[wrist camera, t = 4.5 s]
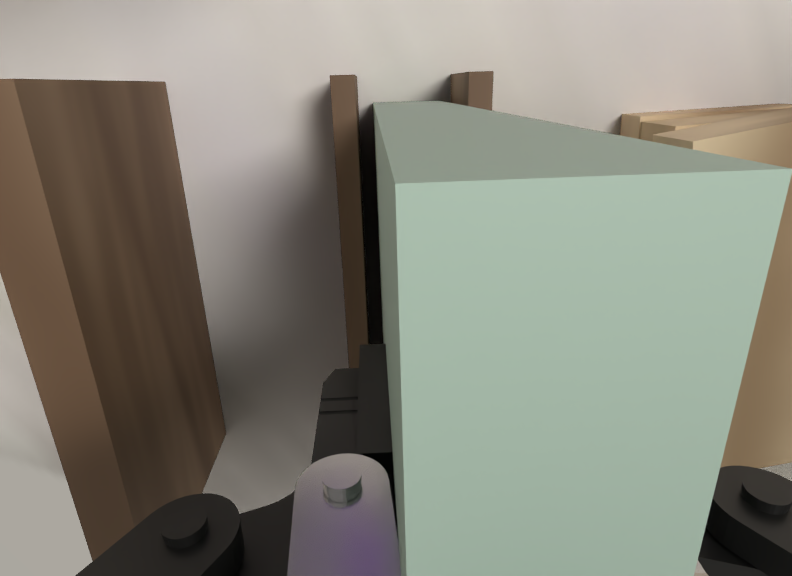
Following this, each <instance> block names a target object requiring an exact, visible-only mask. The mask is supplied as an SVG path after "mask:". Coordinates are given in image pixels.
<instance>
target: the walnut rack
mask: <svg viewBox="0 0 792 576" xmlns="http://www.w3.org/2000/svg"><path fill="white" fill-rule="evenodd" d="M330 87H331V102H332V117H333V133H334V148H335V163H336V178H337V193H338V208H339V223H340V239H341V254H342V269H343V284H344V299H345V314H346V330H347V345H348V360H349V368H359V352H360V345H367V344H370V337H369V317H368V296H367V275H366V255H365V234H364V213H363V193H362V172H361V151H360V131H359V110H358V89H357V76H355V75H330ZM492 93H493V71H484V72H465V73H457V74H451V100H450V103H454V104H460V105H465V106H470V107H475V108H480V109H486V110H491V111H492ZM0 273H1V276H2V279H3V282H4V285H5V289H6V292H7V295H8V298H9V301H10V304H11V307H12V310H13V314H14V317H15V320H16V323H17V326H18V329H19V332H20V335H21V339H22V342H23V345H24V348H25V351H26V354H27V357H28V360H29V364H30V367H31V370H32V373H33V376H34V379H35V382H36V385H37V389H38V392H39V395H40V398H41V401H42V404H43V407H44V410H45V414H46V417H47V420H48V423H49V426H50V429H51V432H52V435H53V439H54V442H55V445H56V448H57V451H58V454H59V457H60V460H61V464H62V467H63V470H64V473H65V476H66V479H67V482H68V485H69V488H70V492H71V495H72V498H73V501H74V504H75V507H76V510H77V514H78V517H79V520H80V523H81V526H82V529H83V532H84V535H85V538H86V542H87V545H88V548H89V551H90V554H91V557H92V560H93V561H94V560H95V559H96V558H98V557H99V556H100V555H101V554H102V553H104V552H105V551H106V550H107V549H109V548H110V547H111V546H112V545H113V544H115V543H116V542H117V541H118V540H120V539H121V538H122V537H123V536H124V535H126V534H127V533H128V532H129V531H131V530H132V529H133V528H134V527H135V526H137V525H138V524H139V523H140V522H141V521H143V520H144V519H145V518H146V517H148V516H149V515H150V514H151V513H153V512H154V511H155V510H157V509H158V508H160V507H162V506H163V505H165V504H167V503H169V502H171V501H173V500H176V499H178V498H181V497H184V496H189V495H193V494H202V492H203V489H204V487H205V484H206V482H207V479H208V477H209V474H210V472H211V469H212V467H213V464H214V462H215V460H216V457H217V455H218V452H219V450H220V447H221V445H222V442H223V440H224V437H225V435H226V431H225V425H224V419H223V413H222V408H221V402H220V396H219V390H218V384H217V379H216V373H215V367H214V361H213V356H212V350H211V344H210V338H209V333H208V327H207V321H206V315H205V309H204V304H203V298H202V292H201V286H200V281H199V275H198V269H197V263H196V257H195V252H194V246H193V240H192V234H191V229H190V223H189V217H188V211H187V206H186V200H185V194H184V188H183V182H182V177H181V171H180V165H179V159H178V154H177V148H176V142H175V136H174V131H173V125H172V119H171V113H170V107H169V102H168V96H167V90H166V84H165V82H149V81H97V80H45V79H0Z"/></svg>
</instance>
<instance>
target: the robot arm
mask: <svg viewBox="0 0 792 576" xmlns="http://www.w3.org/2000/svg"><path fill="white" fill-rule="evenodd" d="M76 576H401V569H400V554H399V544H398V537H397V530H396V524H395V502H394V476H393V450H392V435H391V420H390V405H389V389H388V374H387V359H386V344H367V345H360V352H359V368H346V369H335V370H334V371H333V372H332V374H331V375H330V376H329V377H328V378H327V379H326V380H325V382H324V383H323V389H322V395H321V402H320V409H319V416H318V422H317V429H316V436H315V442H314V449H313V456H312V463H311V465H310V466H309V467H307V468H306V469H305V470H304V471H303V472H302V474H301V475H300V477H299V478H298V480H297V482H296V486H295V491H294V492H293V493H291V494H290V495H288V496H287V497H285V498H284V499H282V500H280V501H278V502H276V503H273V504H270V505H268V506H265V507H261V508H258V509H255V510H252V511H248V512H245V513H242V514H239V512H238V509H237V508H236V506H235V505H234V503H232V502H231V501H230V500H229V499H227V498H225V497H223V496H220V495H216V494H193V495H189V496H184V497H181V498H178V499H176V500H173V501H171V502H169V503H167V504H165V505H163V506H162V507H160V508H158V509H157V510H155V511H154V512H153V513H151V514H150V515H149V516H148V517H146V518H145V519H144V520H143V521H141V522H140V523H139V524H138V525H137V526H135V527H134V528H133V529H132V530H131V531H129V532H128V533H127V534H126V535H124V536H123V537H122V538H121V539H120V540H118V541H117V542H116V543H115V544H113V545H112V546H111V547H110V548H109V549H107V550H106V551H105V552H104V553H102V554H101V555H100V556H99V557H98V558H96V559H95V560H94V561H93V562H92V563H90V564H89V565H88V566H87V567H85V568H84V569H83V570H82V571H81V572H79V573H78V574H77V575H76ZM694 576H792V481H790V480H788V479H786V478H784V477H781V476H779V475H777V474H774V473H772V472H769V471H766V470H762V469H759V468H754V467H749V466H724V467H721V468H720V470H719V474H718V478H717V483H716V487H715V491H714V495H713V499H712V503H711V507H710V511H709V515H708V519H707V524H706V528H705V532H704V536H703V540H702V544H701V548H700V552H699V556H698V560H697V565H696V569H695V573H694Z"/></svg>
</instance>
